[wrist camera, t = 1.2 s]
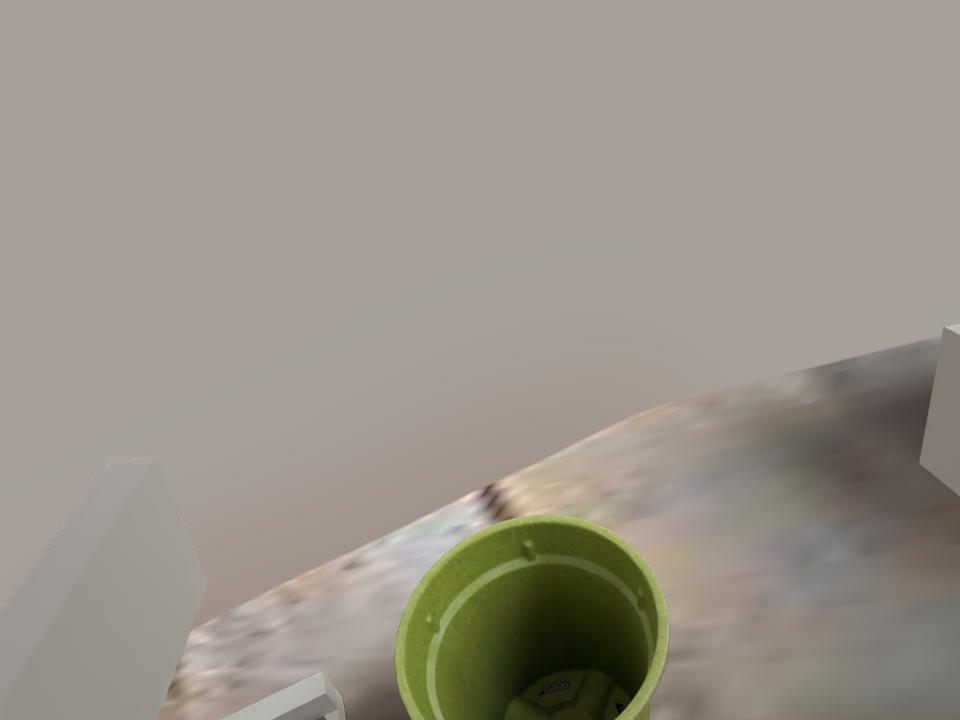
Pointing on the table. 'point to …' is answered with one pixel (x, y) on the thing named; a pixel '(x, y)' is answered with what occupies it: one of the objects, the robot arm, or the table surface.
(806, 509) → the table surface
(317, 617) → the table surface
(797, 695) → the table surface
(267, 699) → the box
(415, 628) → the plant pot
